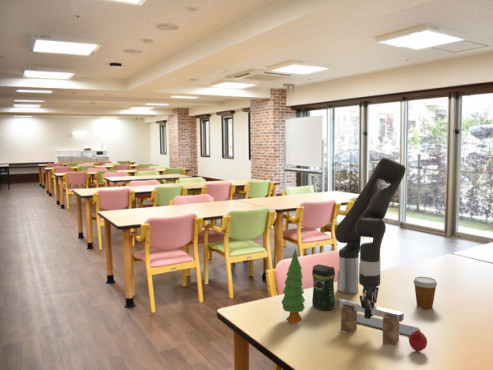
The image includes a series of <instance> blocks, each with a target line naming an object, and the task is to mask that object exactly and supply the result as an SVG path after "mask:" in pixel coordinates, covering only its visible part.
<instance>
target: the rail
mask: <svg viewBox="0 0 493 370" xmlns="http://www.w3.org/2000/svg"><path fill="white" fill-rule="evenodd" d="M336 301H337V302H336V303H337V308H341V306H342V305H343V306H347V307H351V308H352V310H354V311H357V312H360V313H363V314H364V310H365V309H364V308H362V306H361V302H356V301H353V300H347V299H343V298H342V297H339V298H338V299H337V300H336ZM404 314H405V312H404V311H397V310H393V309H388V308H384V307H379V306H376V305H375V306H371V315H373V316H376V317H379V318H380V317H381V318H383V316H384V315H386V316H391V317H395V318H396V321H399V323H402V322H403V321H404V319H405V318H404V317H405V315H404Z"/></svg>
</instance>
